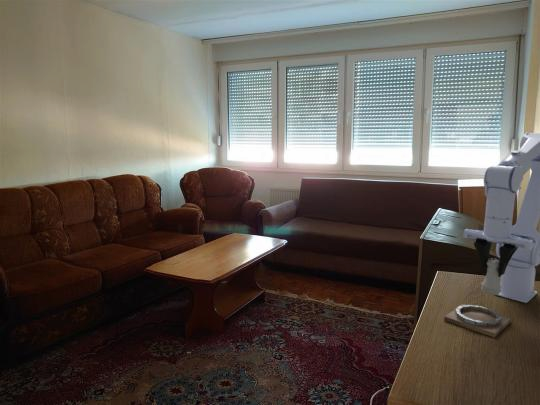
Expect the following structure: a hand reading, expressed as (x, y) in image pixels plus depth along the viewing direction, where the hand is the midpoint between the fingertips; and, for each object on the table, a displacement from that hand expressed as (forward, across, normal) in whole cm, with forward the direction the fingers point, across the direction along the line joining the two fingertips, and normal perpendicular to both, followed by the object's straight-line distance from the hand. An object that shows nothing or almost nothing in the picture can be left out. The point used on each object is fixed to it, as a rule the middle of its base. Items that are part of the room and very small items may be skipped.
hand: (492, 272), depth 101 cm
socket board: (+10, 0, -7) cm, 13 cm away
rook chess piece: (+5, 0, 0) cm, 5 cm away
